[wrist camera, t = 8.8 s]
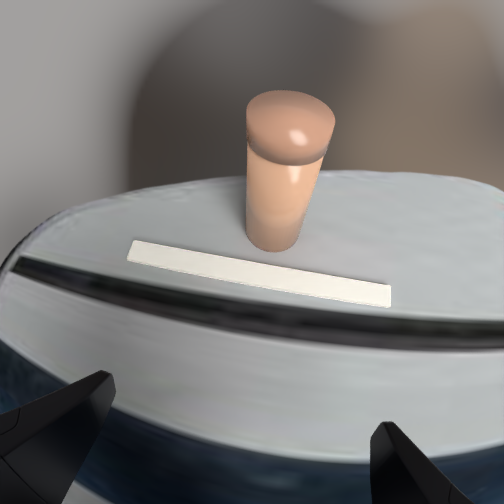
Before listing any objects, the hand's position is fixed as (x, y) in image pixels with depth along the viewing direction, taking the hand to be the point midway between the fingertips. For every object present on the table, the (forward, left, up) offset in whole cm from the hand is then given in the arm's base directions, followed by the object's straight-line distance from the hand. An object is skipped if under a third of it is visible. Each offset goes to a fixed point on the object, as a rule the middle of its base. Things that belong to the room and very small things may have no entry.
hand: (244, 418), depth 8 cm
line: (+3, +10, -14) cm, 17 cm away
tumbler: (+4, +15, -14) cm, 21 cm away
